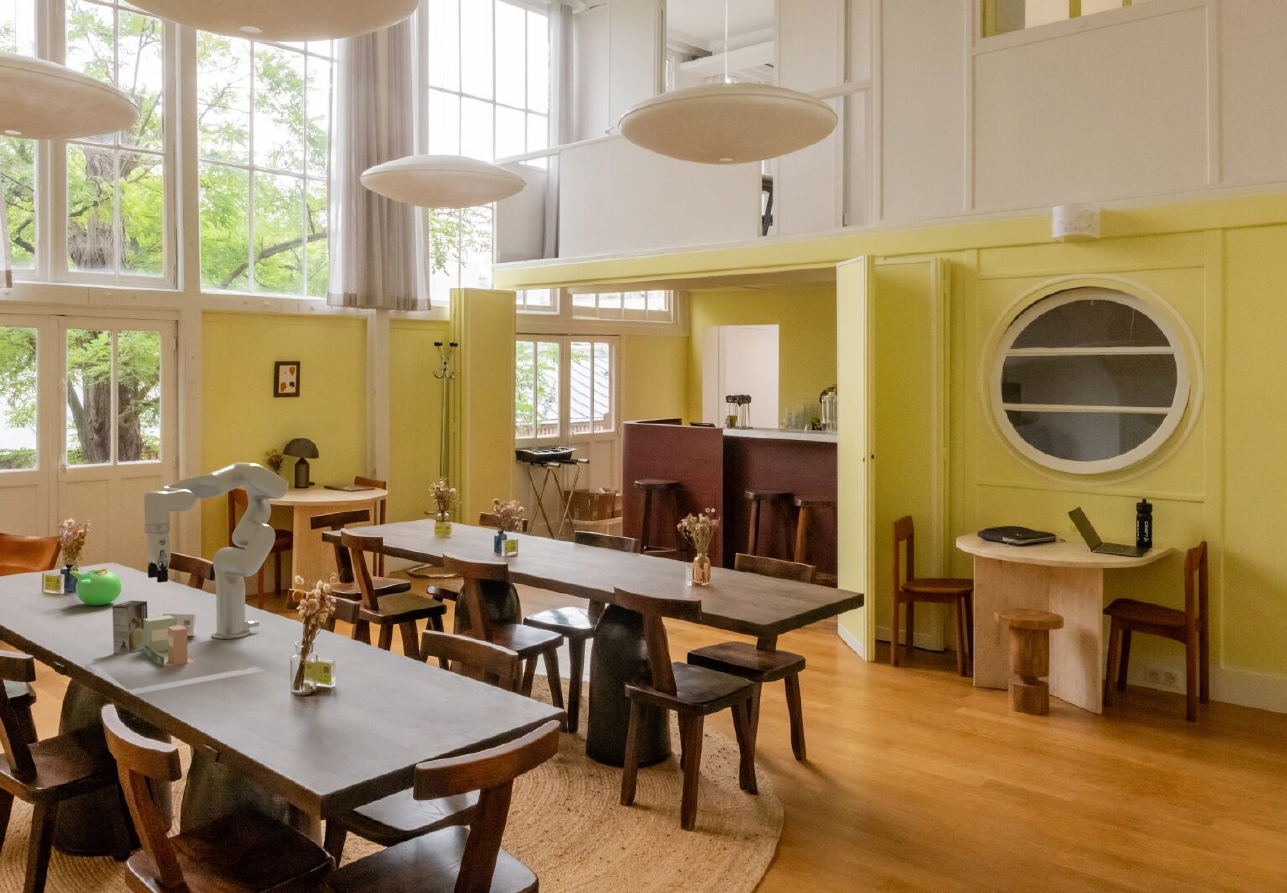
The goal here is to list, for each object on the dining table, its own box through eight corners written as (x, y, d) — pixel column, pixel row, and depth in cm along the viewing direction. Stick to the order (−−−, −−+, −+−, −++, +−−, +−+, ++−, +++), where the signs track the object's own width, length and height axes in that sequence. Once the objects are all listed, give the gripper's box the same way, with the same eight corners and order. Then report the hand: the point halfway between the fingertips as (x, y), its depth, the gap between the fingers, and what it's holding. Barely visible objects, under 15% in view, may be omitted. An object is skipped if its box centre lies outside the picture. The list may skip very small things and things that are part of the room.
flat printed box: (180, 653, 328) (180, 640, 328) (199, 665, 315) (198, 651, 315) (144, 659, 321) (144, 645, 321) (162, 671, 308) (161, 657, 307)
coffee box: (132, 646, 336) (131, 599, 335) (148, 647, 335) (148, 601, 334) (112, 653, 327) (111, 605, 326) (129, 654, 326) (128, 606, 325)
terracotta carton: (181, 658, 317) (181, 624, 316) (187, 662, 313) (187, 628, 312) (167, 660, 314) (167, 626, 314) (173, 664, 310) (173, 630, 309)
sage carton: (169, 650, 332) (169, 615, 331) (174, 653, 328) (174, 617, 328) (144, 654, 327) (143, 618, 326) (148, 657, 323) (148, 621, 322)
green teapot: (128, 605, 396) (127, 569, 395) (81, 611, 384) (81, 574, 383) (112, 598, 408) (111, 563, 407) (66, 604, 396) (66, 568, 395)
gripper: (177, 530, 321) (178, 582, 322) (161, 524, 334) (161, 574, 335) (153, 532, 316) (153, 585, 317) (137, 526, 329) (137, 576, 330)
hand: (157, 579), depth 326 cm, fingers open, 9 cm apart
